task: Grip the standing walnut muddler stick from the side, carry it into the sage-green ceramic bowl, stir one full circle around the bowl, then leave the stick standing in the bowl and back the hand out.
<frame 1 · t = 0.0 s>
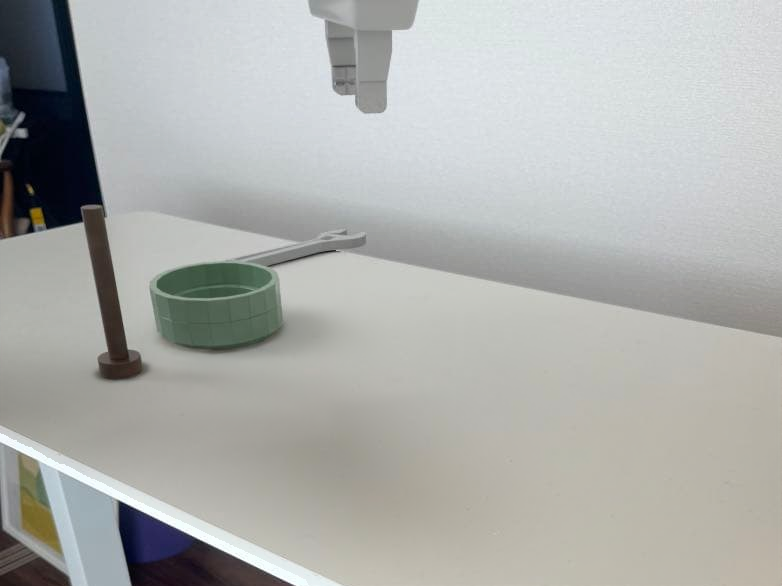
hand: (357, 102, 56), 28 cm above the table, tool pointing down, fingers open, 8 cm apart
muddler: (121, 370, 88), on the table
adjustable wrench: (293, 256, 123), on the table
bowl: (221, 329, 98), on the table
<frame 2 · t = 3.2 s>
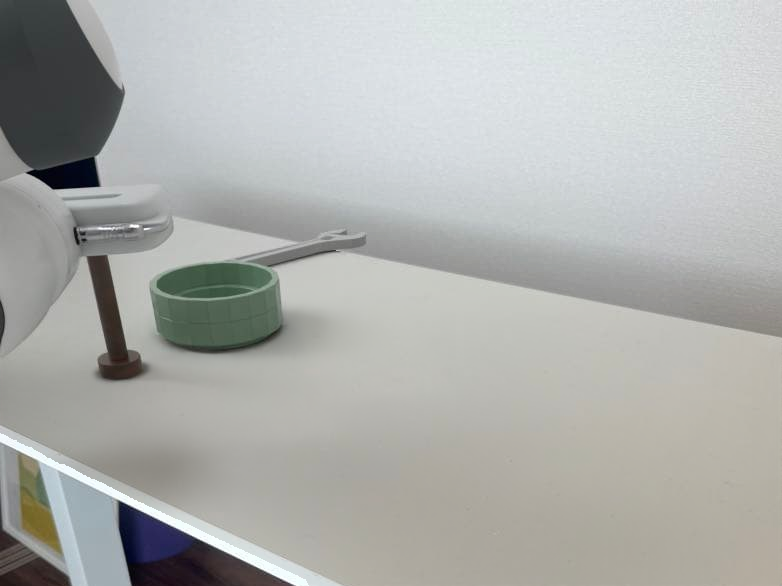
hand: (51, 203, 67), 20 cm above the table, tool horizontal, fingers open, 8 cm apart
nothing on the table moved.
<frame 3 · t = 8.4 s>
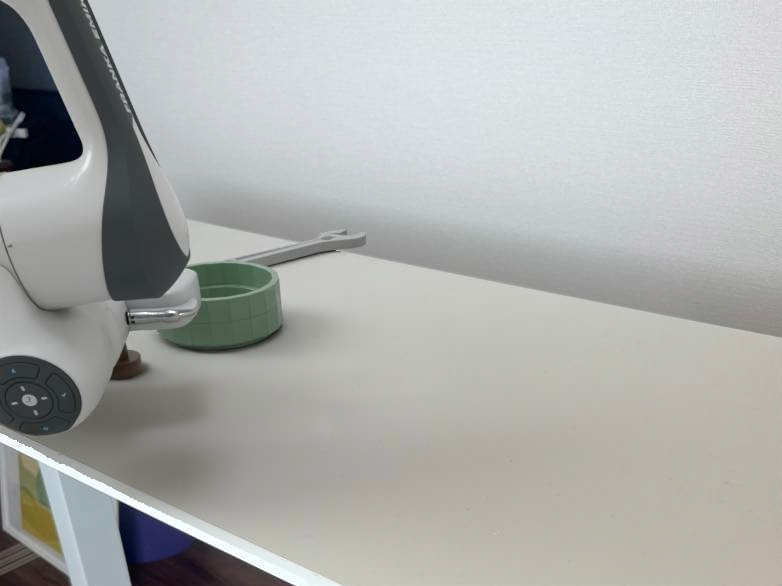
hand: (103, 274, 83), 10 cm above the table, tool horizontal, fingers closed on muddler, 2 cm apart
muddler: (121, 371, 88), on the table, touching gripper
everything else where it was.
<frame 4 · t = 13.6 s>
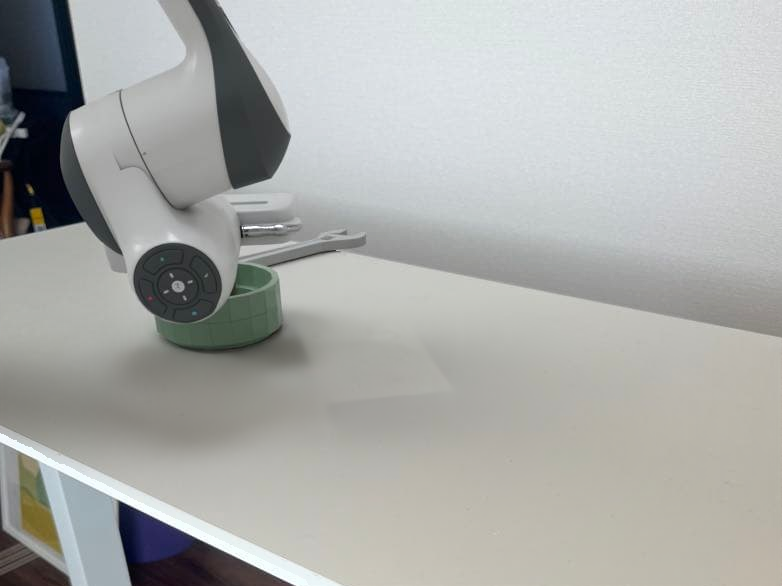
hand: (205, 202, 90), 14 cm above the table, tool horizontal, fingers closed on muddler
muddler: (217, 295, 95), point 4 cm above the table, touching gripper
everything else where it was.
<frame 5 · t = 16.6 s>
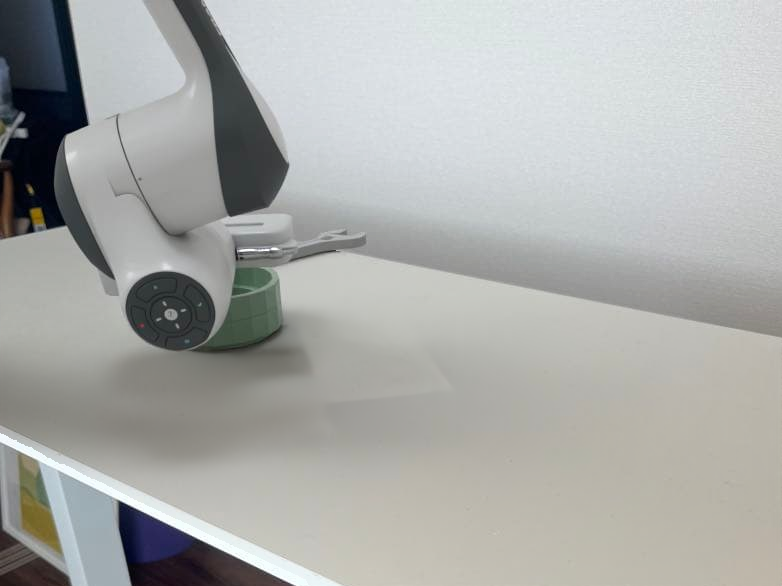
hand: (201, 222, 89), 13 cm above the table, tool horizontal, fingers closed on muddler, 2 cm apart
muddler: (213, 314, 94), point 3 cm above the table, touching gripper
everything else where it was.
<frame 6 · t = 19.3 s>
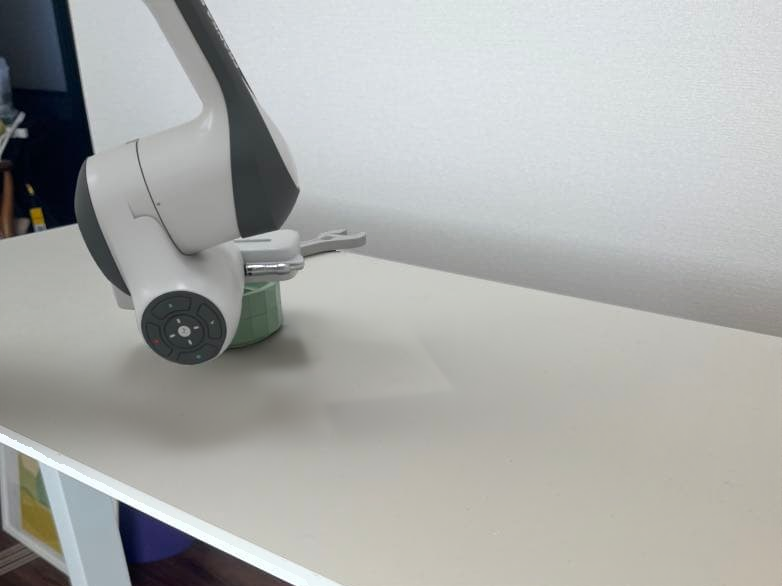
hand: (209, 236, 92), 11 cm above the table, tool horizontal, fingers open, 4 cm apart
muddler: (221, 323, 97), point 1 cm above the table, touching bowl
everything else where it was.
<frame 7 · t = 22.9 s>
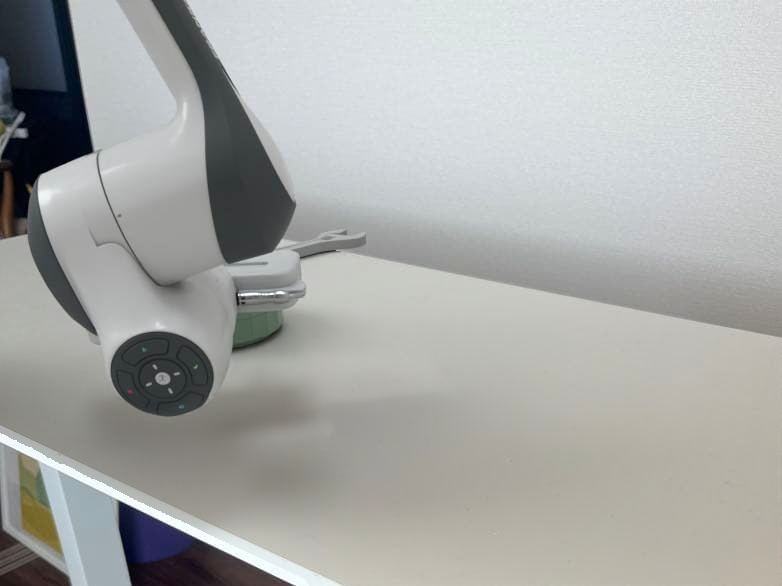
hand: (198, 257, 81), 12 cm above the table, tool horizontal, fingers open, 8 cm apart
nothing on the table moved.
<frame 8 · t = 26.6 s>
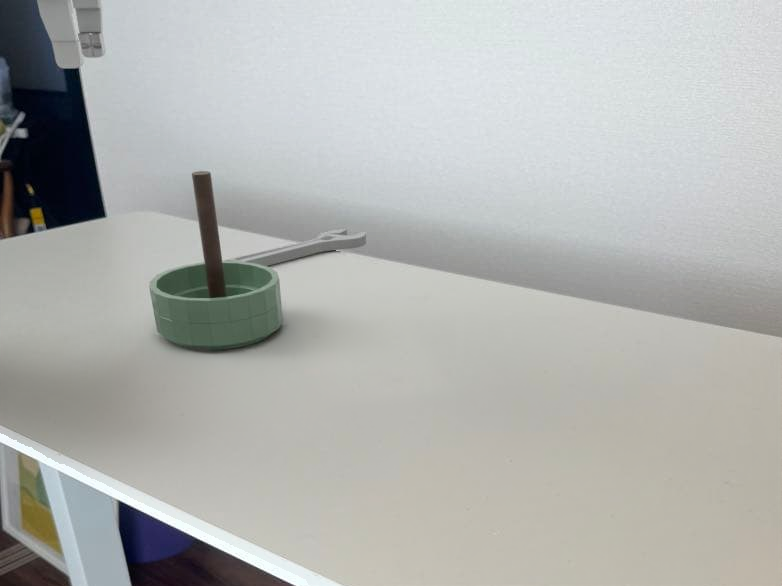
hand: (83, 62, 67), 29 cm above the table, tool pointing down, fingers open, 8 cm apart
nothing on the table moved.
at the end: muddler inside the target area in the bowl (0.1 cm from its centre), point 0.8 cm above the bowl's base; muddler moved 14.9 cm from its start; the gripper is holding nothing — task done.
